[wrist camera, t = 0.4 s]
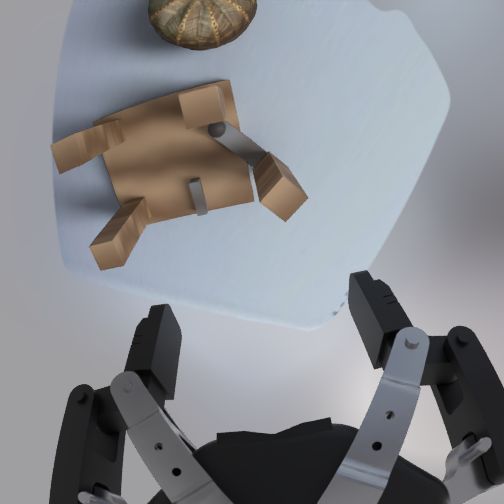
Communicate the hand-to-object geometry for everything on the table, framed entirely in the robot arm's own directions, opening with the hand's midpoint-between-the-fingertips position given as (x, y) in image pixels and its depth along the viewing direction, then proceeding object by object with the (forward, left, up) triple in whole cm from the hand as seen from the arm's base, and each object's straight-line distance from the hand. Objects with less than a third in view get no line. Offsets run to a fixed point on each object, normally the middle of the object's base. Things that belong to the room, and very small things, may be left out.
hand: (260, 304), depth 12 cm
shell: (-20, -1, -28) cm, 34 cm away
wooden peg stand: (-3, -9, -28) cm, 29 cm away
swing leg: (-2, +1, -26) cm, 26 cm away
